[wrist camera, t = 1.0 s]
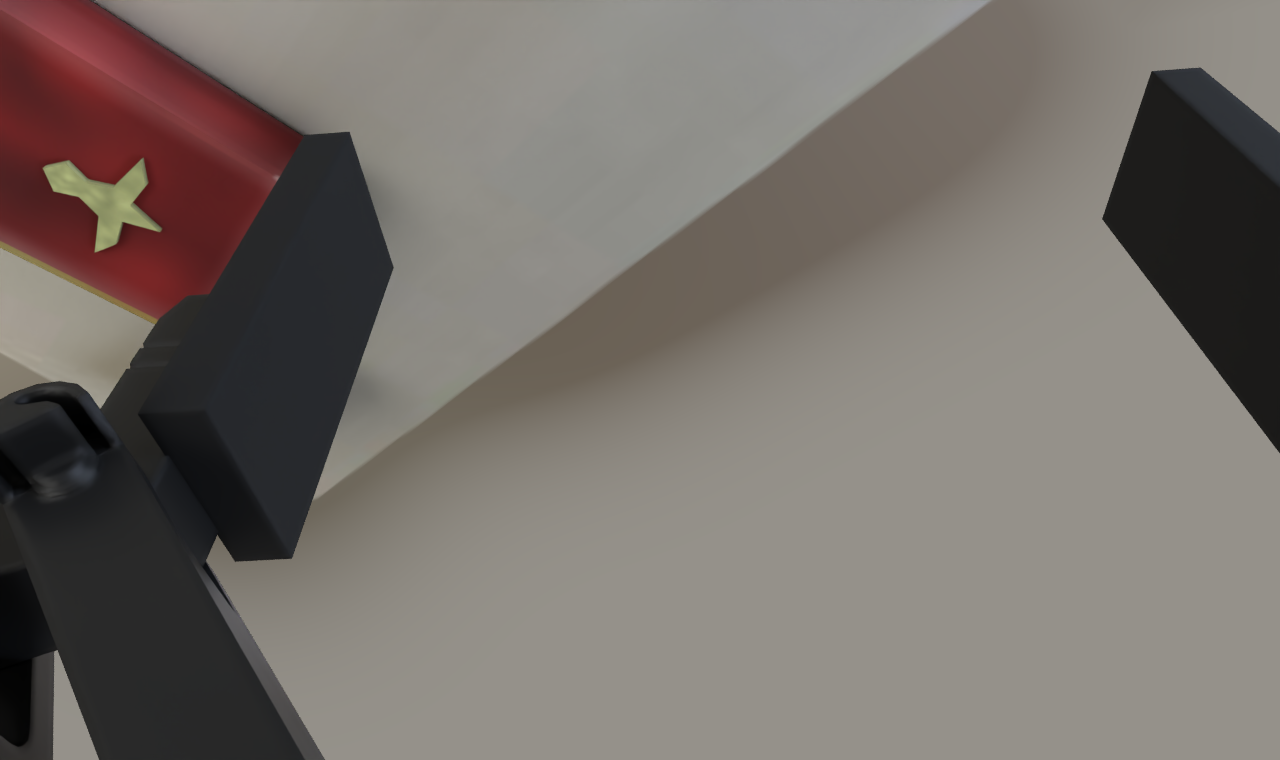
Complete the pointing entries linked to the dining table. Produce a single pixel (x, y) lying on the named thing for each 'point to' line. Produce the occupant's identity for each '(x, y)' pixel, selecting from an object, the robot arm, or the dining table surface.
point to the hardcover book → (124, 157)
